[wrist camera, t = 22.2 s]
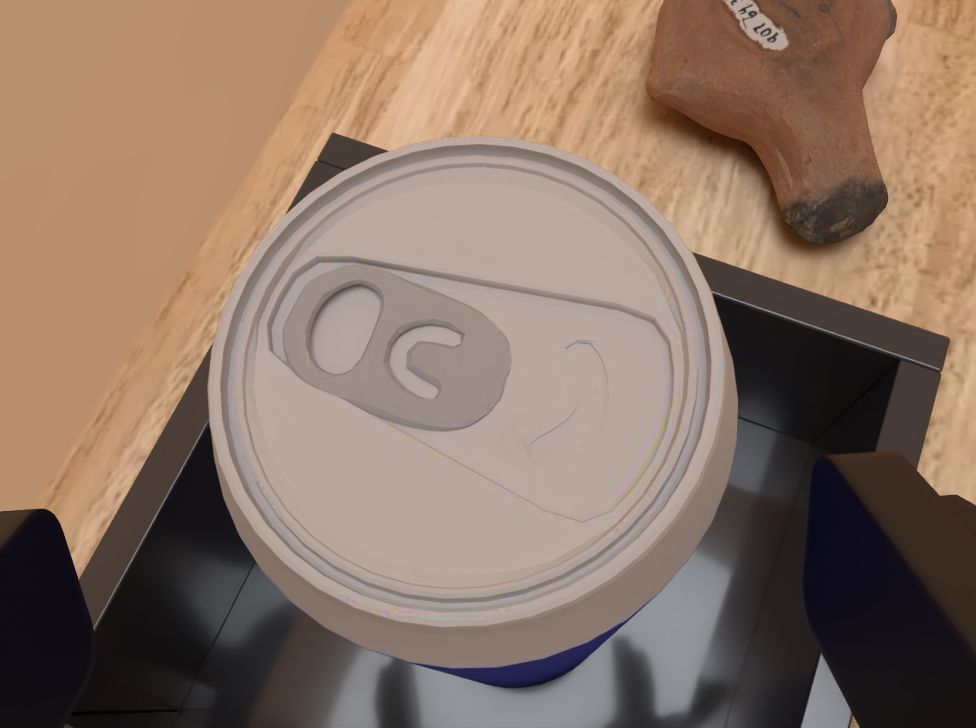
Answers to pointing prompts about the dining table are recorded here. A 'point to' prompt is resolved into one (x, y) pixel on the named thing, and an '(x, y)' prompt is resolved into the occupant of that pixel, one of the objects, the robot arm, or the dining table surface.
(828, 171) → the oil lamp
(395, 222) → the beverage can
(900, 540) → the robot arm
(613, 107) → the dining table surface
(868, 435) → the open box
